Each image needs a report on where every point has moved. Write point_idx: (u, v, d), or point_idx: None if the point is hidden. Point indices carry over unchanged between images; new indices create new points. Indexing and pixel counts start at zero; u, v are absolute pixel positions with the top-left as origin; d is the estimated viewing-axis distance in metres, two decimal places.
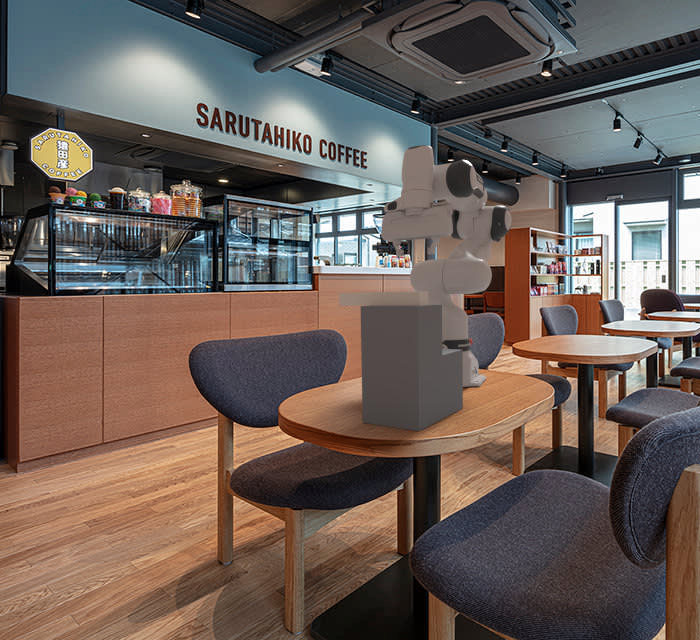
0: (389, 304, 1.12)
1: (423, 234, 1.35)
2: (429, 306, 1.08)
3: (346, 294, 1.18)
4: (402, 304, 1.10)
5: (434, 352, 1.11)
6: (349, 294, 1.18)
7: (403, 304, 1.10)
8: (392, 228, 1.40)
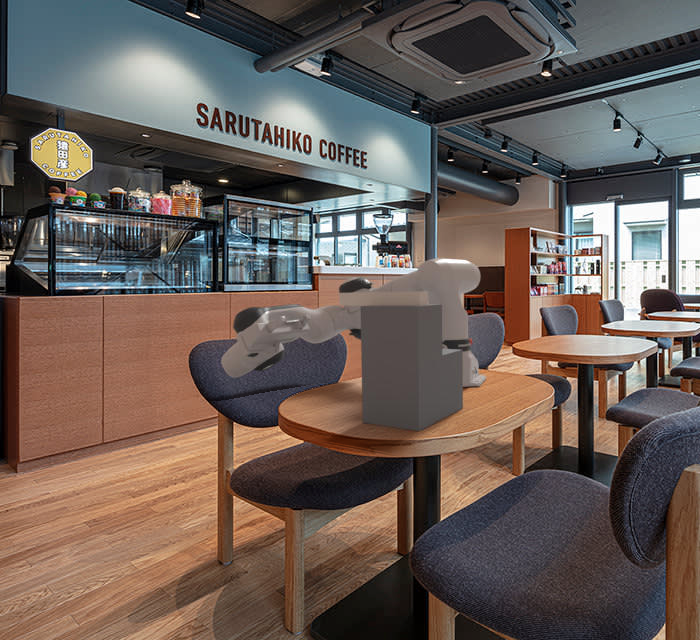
0: (389, 304, 1.12)
1: (289, 320, 1.36)
2: (429, 306, 1.08)
3: (346, 294, 1.18)
4: (402, 304, 1.10)
5: (434, 352, 1.11)
6: (349, 294, 1.18)
7: (403, 304, 1.10)
8: None
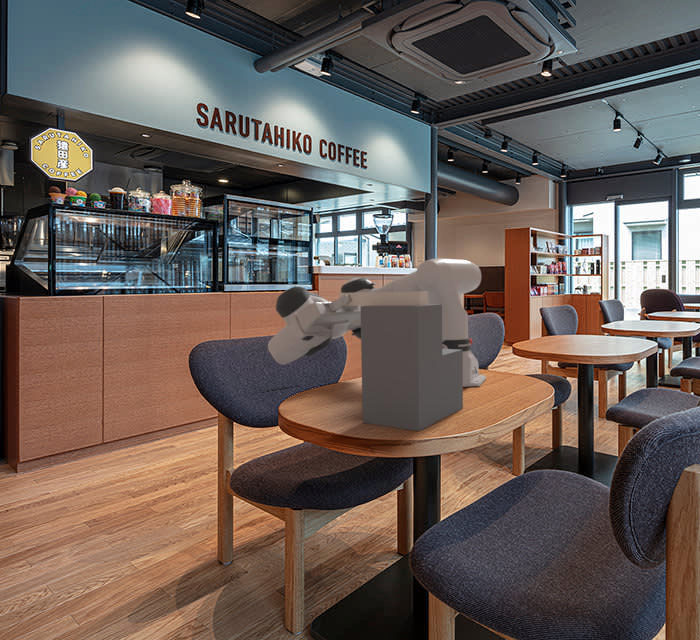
0: (389, 304, 1.12)
1: None
2: (429, 306, 1.08)
3: (346, 294, 1.18)
4: (402, 304, 1.10)
5: (434, 352, 1.11)
6: (349, 294, 1.18)
7: (403, 304, 1.10)
8: None
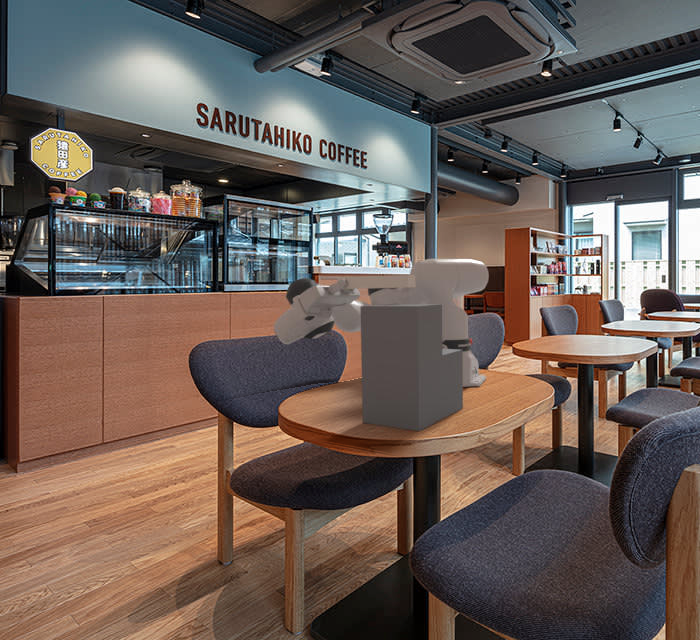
0: (381, 287, 1.27)
1: None
2: (429, 306, 1.08)
3: None
4: (392, 286, 1.25)
5: (434, 352, 1.11)
6: (346, 279, 1.33)
7: (393, 286, 1.25)
8: None
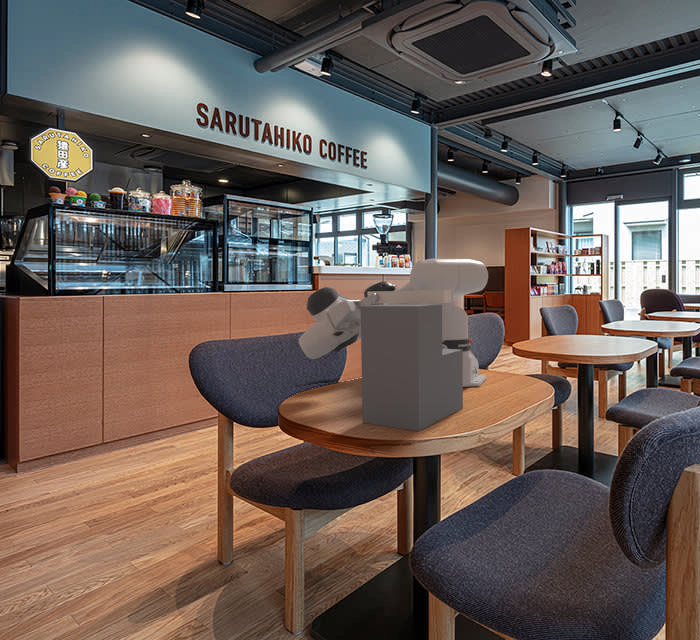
0: (415, 302, 1.21)
1: None
2: (429, 306, 1.08)
3: None
4: (427, 301, 1.19)
5: (434, 352, 1.11)
6: (377, 293, 1.27)
7: (428, 301, 1.19)
8: None
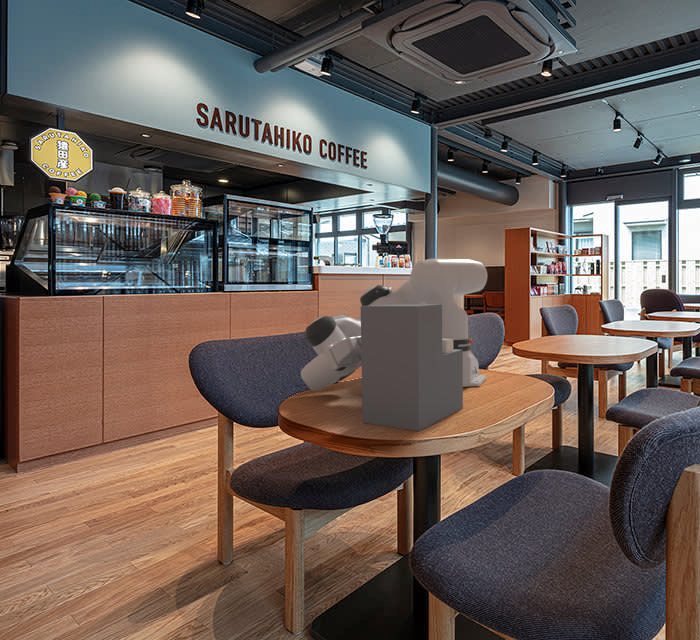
0: None
1: None
2: (429, 306, 1.08)
3: None
4: None
5: (434, 352, 1.11)
6: None
7: None
8: None
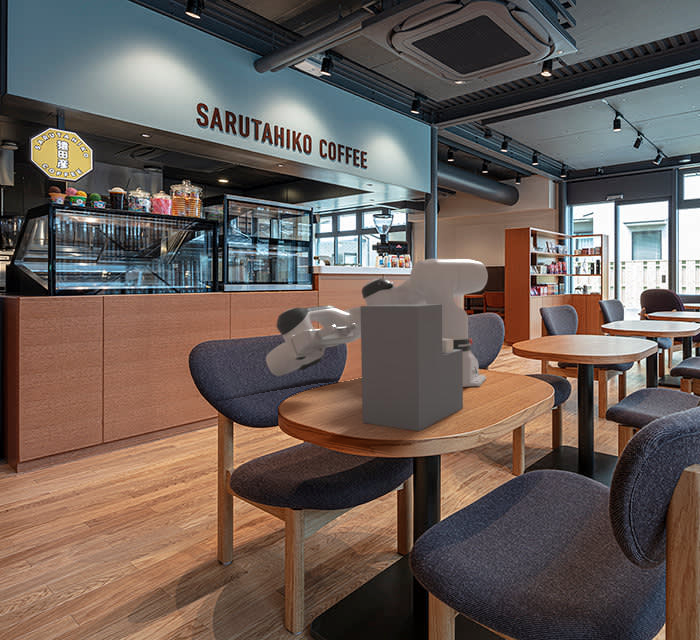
0: None
1: (335, 327, 1.42)
2: (429, 306, 1.08)
3: None
4: None
5: (434, 352, 1.11)
6: None
7: None
8: None
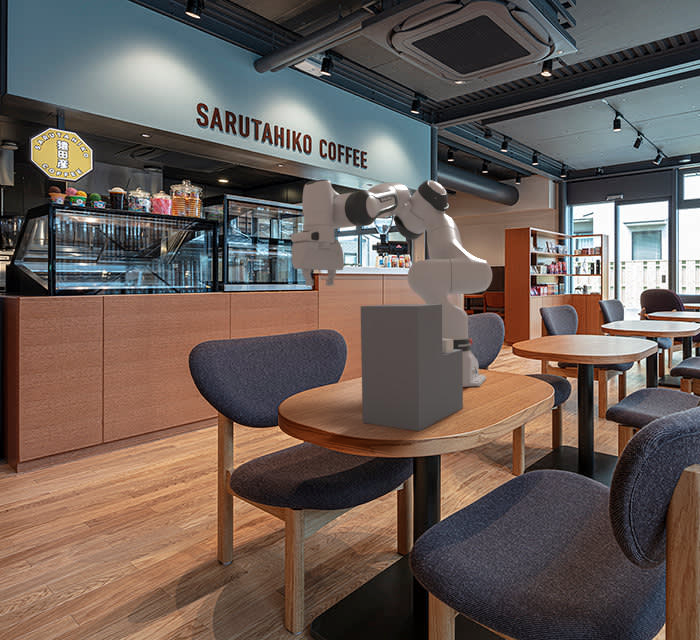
0: None
1: (330, 268, 1.46)
2: (429, 306, 1.08)
3: None
4: None
5: (434, 352, 1.11)
6: None
7: None
8: (310, 257, 1.39)
